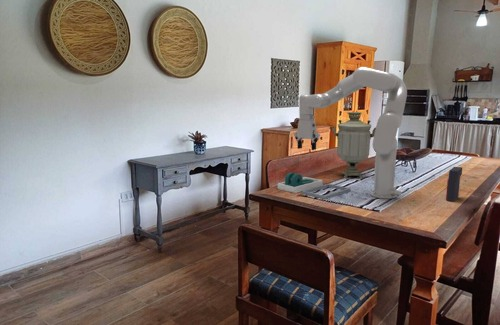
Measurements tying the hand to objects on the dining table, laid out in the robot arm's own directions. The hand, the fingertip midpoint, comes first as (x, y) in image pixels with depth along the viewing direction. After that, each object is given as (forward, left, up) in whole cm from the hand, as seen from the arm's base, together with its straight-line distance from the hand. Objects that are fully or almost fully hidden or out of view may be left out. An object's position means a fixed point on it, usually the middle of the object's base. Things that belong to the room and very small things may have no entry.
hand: (306, 149), depth 199 cm
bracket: (+2, +3, -21) cm, 21 cm away
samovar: (-2, -44, -22) cm, 49 cm away
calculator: (-65, -31, -22) cm, 75 cm away
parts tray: (+2, +3, -21) cm, 22 cm away
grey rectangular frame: (-15, +2, -21) cm, 26 cm away
